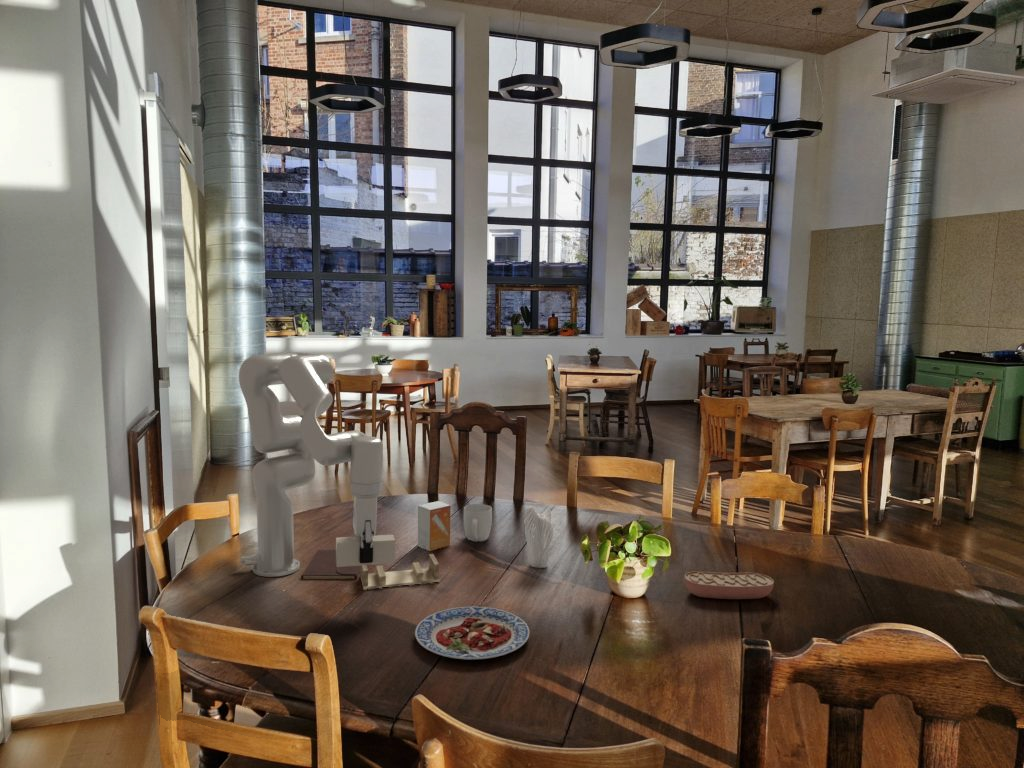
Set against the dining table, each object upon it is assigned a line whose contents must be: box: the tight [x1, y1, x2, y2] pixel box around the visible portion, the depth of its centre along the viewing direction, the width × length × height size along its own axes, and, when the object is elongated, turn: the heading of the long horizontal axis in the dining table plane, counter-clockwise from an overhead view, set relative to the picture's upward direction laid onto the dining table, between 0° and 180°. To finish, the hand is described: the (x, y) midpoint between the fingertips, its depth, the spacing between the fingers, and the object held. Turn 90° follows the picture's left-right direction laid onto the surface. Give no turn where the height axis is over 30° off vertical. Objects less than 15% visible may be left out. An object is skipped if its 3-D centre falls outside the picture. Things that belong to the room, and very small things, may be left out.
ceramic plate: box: [414, 605, 530, 661], centre depth 168 cm, size 26×26×3 cm
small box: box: [417, 500, 452, 552], centre depth 227 cm, size 8×6×13 cm
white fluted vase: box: [523, 505, 554, 569], centre depth 213 cm, size 8×8×18 cm
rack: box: [359, 553, 440, 591], centre depth 201 cm, size 20×9×5 cm, turn 107°
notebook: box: [300, 549, 361, 580], centre depth 211 cm, size 15×20×2 cm
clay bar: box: [335, 534, 396, 567], centre depth 184 cm, size 14×4×6 cm, turn 106°
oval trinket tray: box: [684, 570, 775, 600], centre depth 194 cm, size 23×10×5 cm, turn 89°
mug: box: [462, 503, 493, 543], centre depth 233 cm, size 13×9×10 cm
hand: (365, 558), depth 184 cm, fingers closed on clay bar, 4 cm apart
